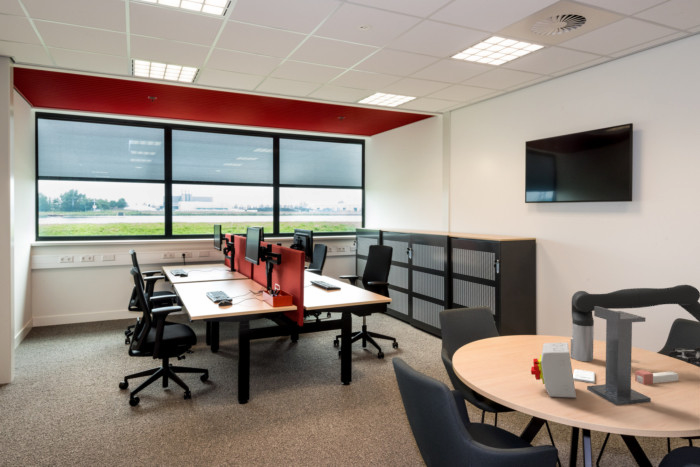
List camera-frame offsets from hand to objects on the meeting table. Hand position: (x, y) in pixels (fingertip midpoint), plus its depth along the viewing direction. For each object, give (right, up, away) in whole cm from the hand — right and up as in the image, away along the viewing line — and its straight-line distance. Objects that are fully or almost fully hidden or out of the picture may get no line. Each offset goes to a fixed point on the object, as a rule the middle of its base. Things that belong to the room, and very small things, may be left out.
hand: (677, 357), depth 185 cm
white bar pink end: (-9, -10, 0) cm, 14 cm away
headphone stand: (-35, -11, -15) cm, 40 cm away
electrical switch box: (-58, -11, -10) cm, 60 cm away
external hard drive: (-38, -11, +5) cm, 40 cm away
